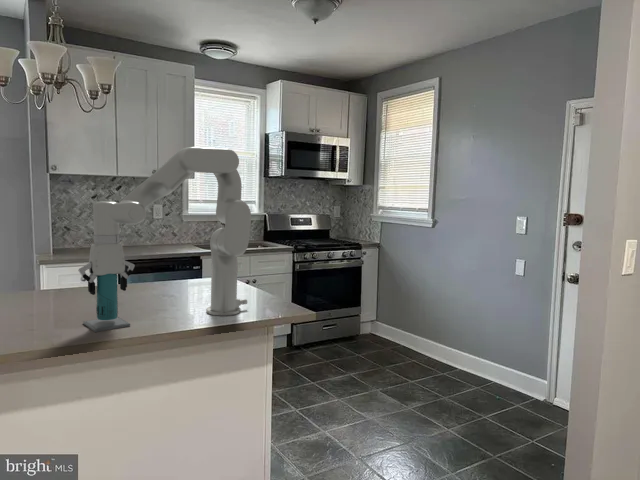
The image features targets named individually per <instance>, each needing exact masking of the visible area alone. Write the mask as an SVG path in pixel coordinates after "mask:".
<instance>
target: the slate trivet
mask: <svg viewBox="0 0 640 480" xmlns="http://www.w3.org/2000/svg"><path fill="white" fill-rule="evenodd" d="M82 324H83V325H85V326H86V327H87V328H89V329H90V330H91V331H93V332H94V333H98V332H103V331H109V330H111V331H112V330H117V329H121V328H127V327H131V323H130V322H128V321H126V320H124V319H123V318H121V317H120V316H117V318H116V319H112V320H99V319H91V320H85V321H84V320H83V322H82Z"/></svg>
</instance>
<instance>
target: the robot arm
mask: <svg viewBox="0 0 640 480" xmlns="http://www.w3.org/2000/svg"><path fill="white" fill-rule="evenodd" d="M239 165H240V158H239V156H238V154H237V153H236V152H235V151H234V150H232V149H230V148H223V147H222V148H221V147H220V148H217V147H216V148H215V147H202V146H201V147H200V146H189V147H183V148H181V149H180V150H178V151H176V153H174V155H173V156H172V157H171V158H169V159H168V160H167V161H166V162H165V163H164V164H163V165H162V166H161V167H159V168H158V169H157V170H156V171H155V172H154V173H152V174H151V175H149V176H148V177H147V179H145V180H144V181H143V182H141V183H140V184H139V185H137V186H136V187H135V188H134V189H132V190H131V192H129V193H128V194H127V195H126V196H125V197H123V199H122V200H121V201H119V202H116V201H110V200H109V201H108V200H106V201H104V200H103V201H96V202H94V203H93V207H92V208H93V209H92V210H93V243H92V244H91V245H90V248H89V249H90V250H89V258H88V263H87V264H85V265H83V266H82V267H80V268H79V269H78V272H79V274H80V275H81V277H82V278H83V279H84V280H85V281H86V282H87V289H88V290H87V291H88V293H89V294H90V295H93V296H95V295H96V282H95V280H97V276H103V275H106V274H117V275H120V279H119V289H120V290H122V291H124V292H125V291H126V290H127V288H128V279H129V276H131V275H132V273H133V271H134V269H135V266H136V265H135V264H134V263H132V262H130V261H127V260H125V252H124V247H123V245H122V243H121V241H123V240H124V239H125V236H124V235H121V231H120V229H121V228H120V224H125V225H126V224H127V225H138V224H140V223H142V222H143V221H144V220H145V219H146V217H147V211H146V209H147V208H148V207H149V206H150V205H152V204H153V203H155V202H156V201H158V200H159V199H162V198H164V197H167V196H168V195H170V194H171V193H173V192H174V191H175V190H176V189H178V187H180V185H181V184H182V183H184V182H185V181H186V180H187V179H188V178H189V177H190V176H192V174H194V173H200V174H201V173H202V174H213V175H214V177H215V178H216V181H217V197H216V198H217V199H216V208H215V217H216V219H217V220H218V221H219V222H220V223H222V224H224V227H220V228H217V229H216V230H215V231H213V232H212V234H211V236H210V239H209V247H210V255H211V276H210V278H211V281H210V283H211V285H210V306H208V307H206V313H207V314H208V315H212V316H221V317H222V316H234V315H237V314H239V313H241V307H240V306H242V305H248V299H247V298H245V299H241V298H237V297H238V296H237V295H238V270H239V269H238V266H239V264H238V257H240V256H242V255H244V254H245V253H246V251H247V250H248V247H249V243H250V233H251V224H252V222H251V221H252V212H251V209H250V207H249V205H248V204H247V203H246V201H243V200H242V179H241V175H240V173H239V171H238V167H239ZM126 266H127V267H128V268H127V270H126ZM86 271H88V272H89V273H90V274H87V273H86Z"/></svg>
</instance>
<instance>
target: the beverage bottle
mask: <svg viewBox="0 0 640 480" xmlns="http://www.w3.org/2000/svg"><path fill="white" fill-rule="evenodd" d="M95 289H96V291H95V294H96V304H95V306H96V314H95V315H96V318H97V319H99V320H112V319H116V318H117V316H118V315H119V311H118V310H119V309H118V308H119V301H118V274H106V275H103V276H97V277H96V284H95ZM118 317H119V316H118Z"/></svg>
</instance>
